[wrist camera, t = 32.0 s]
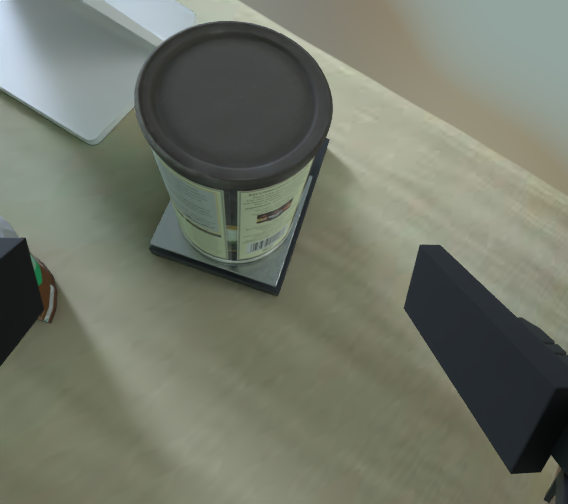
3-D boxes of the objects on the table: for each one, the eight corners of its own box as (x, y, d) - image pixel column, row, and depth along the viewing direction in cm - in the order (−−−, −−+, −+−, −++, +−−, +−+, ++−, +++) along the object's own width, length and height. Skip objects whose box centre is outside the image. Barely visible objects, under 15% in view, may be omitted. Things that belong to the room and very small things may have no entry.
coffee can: (221, 136, 35) (213, -10, 22) (315, 196, 34) (366, 82, 21) (149, 220, 32) (87, 107, 18) (251, 288, 31) (264, 222, 18)
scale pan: (312, 178, 35) (312, 176, 35) (275, 287, 32) (276, 286, 31) (200, 139, 35) (199, 136, 35) (150, 244, 31) (149, 243, 31)
